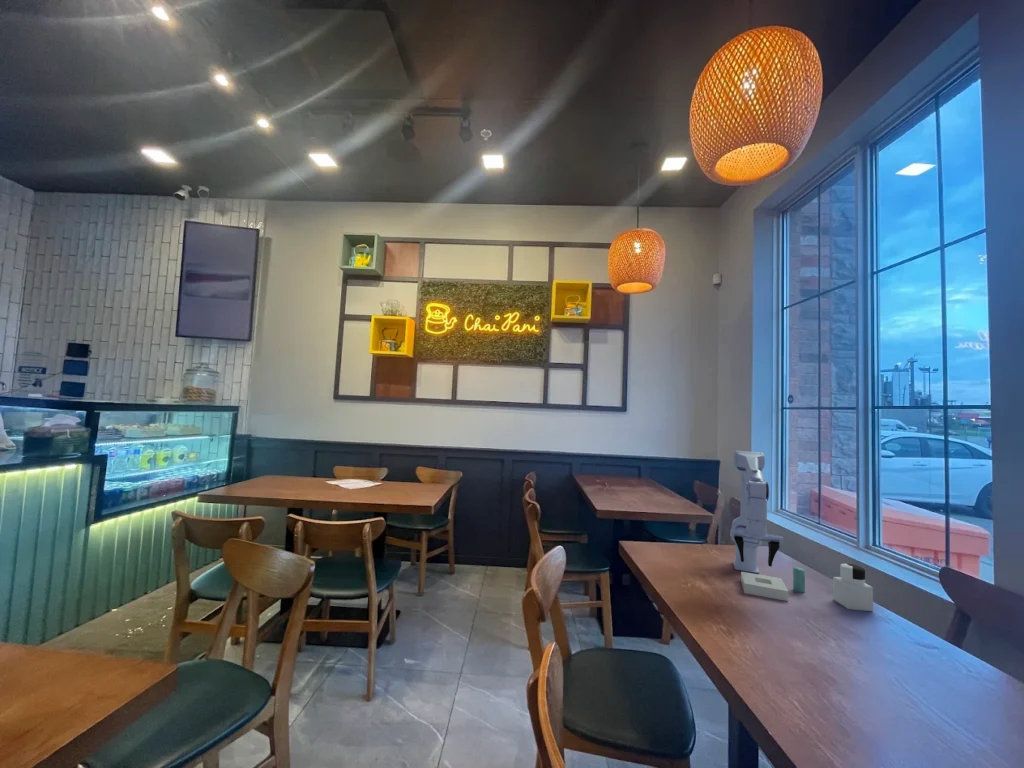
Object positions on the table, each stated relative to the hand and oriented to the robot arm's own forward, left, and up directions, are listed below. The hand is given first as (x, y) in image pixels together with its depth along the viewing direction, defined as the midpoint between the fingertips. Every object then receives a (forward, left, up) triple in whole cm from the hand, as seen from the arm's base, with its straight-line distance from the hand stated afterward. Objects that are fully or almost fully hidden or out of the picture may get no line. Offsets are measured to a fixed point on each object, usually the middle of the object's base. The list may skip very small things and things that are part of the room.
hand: (755, 563), depth 136 cm
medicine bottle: (-8, +27, -10) cm, 30 cm away
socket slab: (-7, +3, -10) cm, 13 cm away
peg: (-13, +14, -10) cm, 22 cm away
